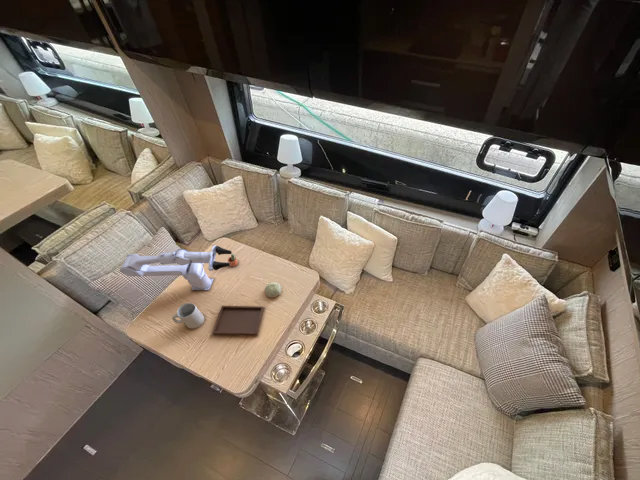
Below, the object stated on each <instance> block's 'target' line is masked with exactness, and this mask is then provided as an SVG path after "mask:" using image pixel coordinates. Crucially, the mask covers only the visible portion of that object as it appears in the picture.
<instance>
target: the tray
mask: <svg viewBox="0 0 640 480" xmlns="http://www.w3.org/2000/svg"><path fill="white" fill-rule="evenodd" d="M264 311H265V308H264V306H255V305H253V306H249V305H247V306H246V305H222V306H221V307H220V311H219V313H218V316H217V318H216V321H215V324H214V327H213V330H212V332H211V333H212V335H213V336H258V334H259V331H260V327H261V322H262V319H263V315H264Z"/></svg>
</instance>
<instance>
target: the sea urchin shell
mask: <svg viewBox="0 0 640 480" xmlns="http://www.w3.org/2000/svg"><path fill="white" fill-rule="evenodd" d="M282 289H283V288H282V285H281V284H280V283H279V282H274V281H273V282H272V281H271V282H269V283H267V284H266V286H265V287H264V293H265V294H266V296H267V297H269V298H275V297H279V295H281V293H282Z"/></svg>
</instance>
